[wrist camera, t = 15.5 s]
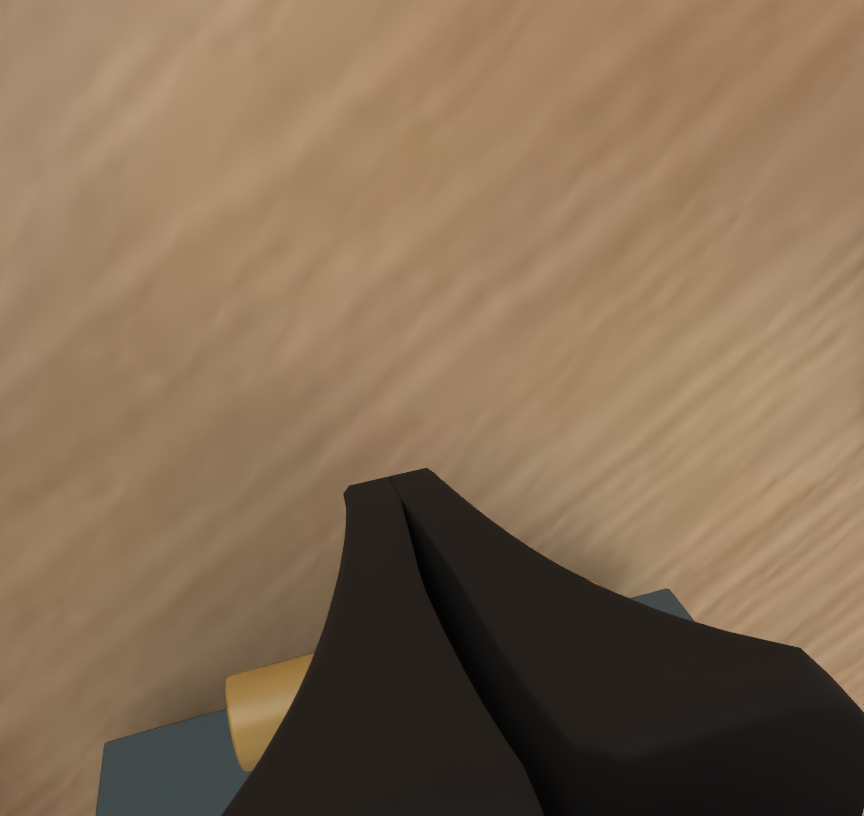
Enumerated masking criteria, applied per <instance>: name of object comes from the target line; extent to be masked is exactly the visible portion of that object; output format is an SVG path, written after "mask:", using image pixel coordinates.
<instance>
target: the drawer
mask: <svg viewBox="0 0 864 816" xmlns="http://www.w3.org/2000/svg"><path fill="white" fill-rule="evenodd" d="M589 581H591V582H593V583H595V584H597V585H599V584H598V583H597V582H595V581H593V580H589ZM599 586H600V585H599ZM630 599H632V600H634V601H637V602H639V603H642V604H644V605H647V606H649V607H652V608H655V609H657V610H660V611H663V612H666V613H669V614H672V615H675V616H678V617H680V618H684V619H687V620H690V621H694V620H693V619H692V617H691V616H690V615H689V613H688V612H687V611H686V610H685V608H684V607H683V606H682V605H681V603H680V602H679V601H678V600H677V598H676V597H675V596H674V595H673V593H672V592H671V591H670V590H669V589H662V590H659V591H655V592H652V593H648V594H644V595H641V596H637V597H633V598H630ZM694 622H695V621H694ZM313 656H314V653H312V654H309V655H305V656H301V657H297V658H294V659H290V660H286V661H282V662H279V663H275V664H271V665H268V666H264V667H260V668H256V669H253V670H249V671H245V672H241V673H238V674H234V675H230V676H229V677H228V678H227V680H226V685H225V696H226V707H227V709H225V710H221V711H217V712H214V713H210V714H207V715H203V716H199V717H196V718H192V719H188V720H185V721H181V722H177V723H174V724H170V725H166V726H163V727H159V728H155V729H152V730H148V731H145V732H141V733H137V734H134V735H130V736H126V737H123V738H119V739H115V740H112V741H108V742H106V743H105V744H104V750H103V759H102V767H101V775H100V783H99V792H98V800H97V808H96V816H221V814H222V813H223V812H224V810H225V809H226V807H227V806H228V804H229V803H230V802H231V800H232V799H233V797H234V796H235V795H236V793H237V792H238V790H239V789H240V788H241V786H242V785H243V783H244V782H245V780H246V779H247V778H248V776H249V775H250V773H251V772H252V771H253V769H254V768H255V766H256V764H257V763H258V761H259V760H260V758H261V757H262V755H263V753H264V751H265V750H266V748H267V746H268V745H269V743H270V741H271V739H272V738H273V736H274V734H275V732H276V731H277V729H278V727H279V725H280V724H281V722H282V720H283V719H284V717H285V715H286V713H287V712H288V710H289V708H290V706H291V704H292V702H293V700H294V698H295V696H296V694H297V692H298V690H299V687H300V685H301V683H302V681H303V678H304V676H305V674H306V672H307V670H308V667H309V665H310V663H311V661H312V658H313Z"/></svg>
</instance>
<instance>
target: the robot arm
mask: <svg viewBox="0 0 864 816" xmlns="http://www.w3.org/2000/svg"><path fill="white" fill-rule="evenodd" d="M343 494H344V499H345V505H346V530H345V540H344V547H343V553H342V559H341V565H340V570H339V575H338V579H337V583H336V587H335V591H334V595H333V599H332V602H331V606H330V610H329V613H328V616H327V620H326V623H325V626H324V629H323V632H322V634H321V637H320V640H319V643H318V645H317V648H316V650H315V653H314V656H313V658H312V661H311V663H310V665H309V667H308V670H307V672H306V674H305V676H304V678H303V681H302V683H301V685H300V687H299V690H298V692H297V694H296V696H295V698H294V700H293V702H292V704H291V706H290V708H289V710H288V712H287V713H286V715H285V717H284V719H283V720H282V722H281V724H280V725H279V727H278V729H277V731H276V732H275V734H274V736H273V738H272V739H271V741H270V743H269V745H268V746H267V748H266V750H265V751H264V753H263V755H262V757H261V758H260V760H259V761H258V763H257V764H256V766H255V768H254V769H253V771H252V772H251V773H250V775H249V776H248V778H247V779H246V780H245V782H244V783H243V785H242V786H241V788H240V789H239V790H238V792H237V793H236V795H235V796H234V797H233V799H232V800H231V802H230V803H229V804H228V806H227V807H226V809H225V810H224V812H223V813H222V814H221V816H862V813H863V809H864V712H863V711H862V710H861V709H860V708H859V707H858V705H857V704H856V703H855V702H854V701H853V700H852V699H851V698H850V697H849V696H848V695H847V693H846V692H845V691H844V690H843V689H842V688H841V687H840V686H839V685H838V684H837V682H836V681H835V680H834V679H833V678H832V677H831V676H830V675H829V674H828V673H827V672H826V671H825V670H824V669H822V668H821V667H820V666H819V665H818V664H817V663H816V662H815V661H814V660H813V659H812V658H810V657H809V656H808V655H807V654H806V653H805V652H804V651H803V650H802V649H801V648H798V647H794V646H789V645H785V644H780V643H776V642H771V641H767V640H763V639H758V638H754V637H749V636H745V635H741V634H736V633H732V632H728V631H724V630H720V629H717V628H714V627H710V626H707V625H704V624H700V623H697V622H694V621H690V620H687V619H684V618H680V617H678V616H675V615H672V614H669V613H666V612H663V611H660V610H657V609H655V608H652V607H649V606H647V605H644V604H642V603H639V602H637V601H634V600H632V599H629V598H627V597H624V596H622V595H619V594H617V593H615V592H612V591H610V590H608V589H606V588H603V587H601V586H599V585H597V584H595V583H593V582H591V581H589V580H587V579H585V578H583V577H581V576H579V575H577V574H575V573H573V572H571V571H569V570H567V569H565V568H563V567H561V566H560V565H558V564H556V563H554V562H553V561H551V560H549V559H547V558H546V557H544V556H543V555H541V554H540V553H538V552H536V551H535V550H533V549H532V548H530V547H529V546H527V545H525V544H524V543H522V542H521V541H520V540H518V539H517V538H515V537H514V536H512V535H511V534H509V533H508V532H507V531H505V530H504V529H503V528H501V527H500V526H498V525H497V524H496V523H494V522H493V521H492V520H490V519H489V518H488V517H486V516H485V515H484V514H482V513H481V512H480V511H478V510H477V509H476V508H475V507H473V506H472V505H471V504H470V503H468V502H467V501H466V500H465V499H464V498H462V497H461V496H460V495H459V494H458V493H456V492H455V491H454V490H453V489H452V488H451V487H449V486H448V485H447V484H446V483H445V482H444V481H443V480H442V479H440V478H439V477H438V476H437V475H436V474H435V473H434V472H432V471H431V470H429V469H428V468H424V469H420V470H415V471H411V472H407V473H402V474H398V475H394V476H389V478H388V477H385V478H381V479H376V480H372V481H368V482H363V483H359V484H355V485H350V486H349V487H348V488H347V490H346V491H345V492H344V493H343Z"/></svg>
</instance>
